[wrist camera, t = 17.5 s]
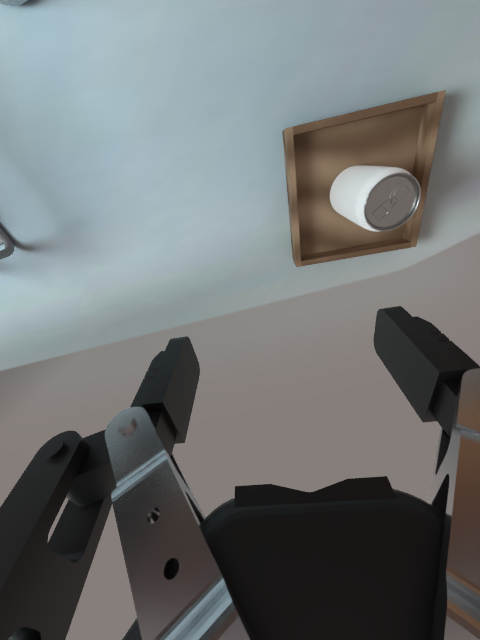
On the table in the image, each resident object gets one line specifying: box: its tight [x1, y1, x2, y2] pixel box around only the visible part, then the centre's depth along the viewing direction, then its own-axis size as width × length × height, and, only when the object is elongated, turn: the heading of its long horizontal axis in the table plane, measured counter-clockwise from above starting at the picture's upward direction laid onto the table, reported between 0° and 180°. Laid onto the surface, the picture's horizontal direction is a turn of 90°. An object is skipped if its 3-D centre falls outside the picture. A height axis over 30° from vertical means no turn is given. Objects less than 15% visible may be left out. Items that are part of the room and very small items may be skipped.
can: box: [330, 165, 421, 231], centre depth 31 cm, size 6×6×12 cm
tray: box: [283, 90, 446, 267], centre depth 35 cm, size 18×18×4 cm
